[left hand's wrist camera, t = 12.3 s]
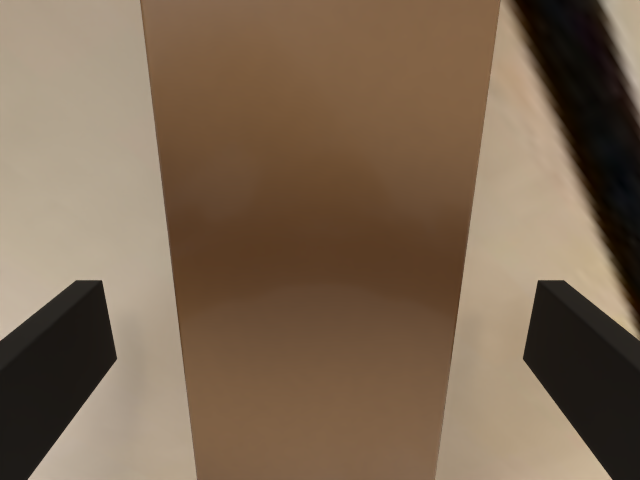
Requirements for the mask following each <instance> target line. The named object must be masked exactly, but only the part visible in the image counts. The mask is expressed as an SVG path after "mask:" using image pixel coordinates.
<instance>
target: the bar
mask: <svg viewBox="0 0 640 480" xmlns="http://www.w3.org/2000/svg"><path fill="white" fill-rule="evenodd" d="M140 3H141V11H142V20H143V28H144V36H145V45H146V53H147V62H148V70H149V78H150V87H151V95H152V104H153V112H154V120H155V129H156V137H157V146H158V154H159V162H160V171H161V179H162V188H163V196H164V204H165V213H166V221H167V230H168V238H169V246H170V255H171V263H172V272H173V280H174V288H175V297H176V305H177V314H178V322H179V330H180V339H181V347H182V356H183V364H184V372H185V381H186V389H187V398H188V406H189V414H190V423H191V431H192V440H193V448H194V456H195V465H196V473H197V480H435V475H436V467H437V460H438V453H439V445H440V438H441V431H442V424H443V416H444V409H445V402H446V394H447V387H448V380H449V372H450V365H451V358H452V351H453V343H454V336H455V329H456V321H457V314H458V307H459V299H460V292H461V285H462V277H463V270H464V263H465V256H466V248H467V241H468V234H469V226H470V219H471V212H472V204H473V197H474V190H475V183H476V175H477V168H478V161H479V153H480V146H481V139H482V131H483V124H484V117H485V110H486V102H487V95H488V88H489V80H490V73H491V66H492V58H493V51H494V44H495V36H496V29H497V22H498V15H499V7H500V0H140Z"/></svg>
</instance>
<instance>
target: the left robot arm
mask: <svg viewBox="0 0 640 480" xmlns="http://www.w3.org/2000/svg"><path fill="white" fill-rule="evenodd" d="M116 360H117V356H116V351H115V345H114V340H113V335H112V330H111V325H110V320H109V314H108V309H107V304H106V299H105V294H104V289H103V283H102V280H76V281H75V282H74V283H72V284H71V285H70V286H69V287H67V288H66V289H65V290H64V291H62V292H61V293H60V294H59V295H57V296H56V297H55V298H54V299H52V300H51V301H50V302H49V303H47V304H46V305H45V306H44V307H42V308H41V309H40V310H39V311H37V312H36V313H35V314H34V315H32V316H31V317H30V318H29V319H27V320H26V321H25V322H24V323H22V324H21V325H20V326H19V327H17V328H16V329H15V330H14V331H12V332H11V333H10V334H9V335H7V336H6V337H5V338H4V339H2V340H1V341H0V480H28V478H29V477H30V476H31V474H32V473H33V472H34V470H35V469H36V467H37V466H38V465H39V463H40V462H41V461H42V459H43V458H44V457H45V455H46V454H47V453H48V451H49V450H50V449H51V447H52V446H53V445H54V443H55V442H56V441H57V439H58V438H59V436H60V435H61V434H62V432H63V431H64V430H65V428H66V427H67V426H68V424H69V423H70V422H71V420H72V419H73V418H74V416H75V415H76V414H77V412H78V411H79V410H80V408H81V407H82V405H83V404H84V403H85V401H86V400H87V399H88V397H89V396H90V395H91V393H92V392H93V391H94V389H95V388H96V387H97V385H98V384H99V383H100V381H101V380H102V379H103V377H104V376H105V374H106V373H107V372H108V370H109V369H110V368H111V366H112V365H113V364H114V362H115V361H116ZM523 360H524V361H525V362H526V364H527V365H528V366H529V368H530V369H531V370H532V372H533V373H534V374H535V376H536V377H537V379H538V380H539V381H540V383H541V384H542V385H543V387H544V388H545V389H546V391H547V392H548V393H549V395H550V396H551V397H552V399H553V400H554V401H555V403H556V404H557V405H558V407H559V408H560V410H561V411H562V412H563V414H564V415H565V416H566V418H567V419H568V420H569V422H570V423H571V424H572V426H573V427H574V428H575V430H576V431H577V432H578V434H579V435H580V436H581V438H582V439H583V441H584V442H585V443H586V445H587V446H588V447H589V449H590V450H591V451H592V453H593V454H594V455H595V457H596V458H597V459H598V461H599V462H600V463H601V465H602V466H603V468H604V469H605V470H606V472H607V473H608V474H609V476H610V477H611V478H612V480H640V341H639V340H638V339H636V338H635V337H634V336H633V335H631V334H630V333H629V332H628V331H626V330H625V329H624V328H623V327H621V326H620V325H619V324H618V323H616V322H615V321H614V320H613V319H611V318H610V317H609V316H608V315H606V314H605V313H604V312H603V311H601V310H600V309H599V308H598V307H596V306H595V305H594V304H593V303H591V302H590V301H589V300H588V299H586V298H585V297H584V296H583V295H581V294H580V293H579V292H578V291H576V290H575V289H574V288H573V287H571V286H570V285H569V284H568V283H566V282H565V281H564V280H538V283H537V289H536V294H535V299H534V304H533V309H532V314H531V320H530V325H529V330H528V335H527V340H526V345H525V350H524V356H523Z"/></svg>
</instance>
